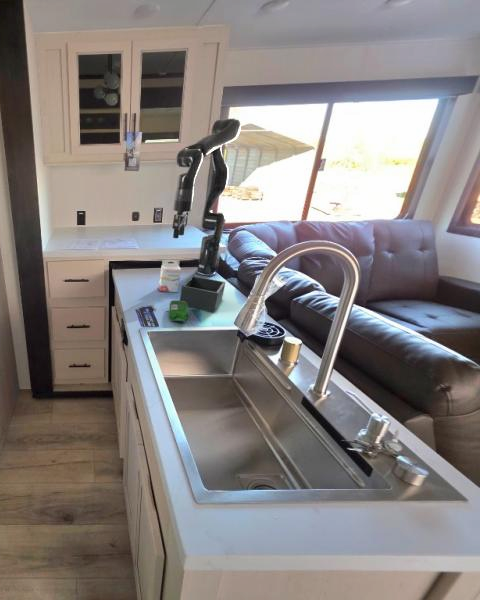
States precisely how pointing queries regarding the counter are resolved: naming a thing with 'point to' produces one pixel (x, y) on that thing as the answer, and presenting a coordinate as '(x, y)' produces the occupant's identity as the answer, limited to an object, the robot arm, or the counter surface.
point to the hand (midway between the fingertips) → (178, 236)
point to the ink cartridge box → (169, 276)
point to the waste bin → (202, 293)
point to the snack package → (178, 311)
